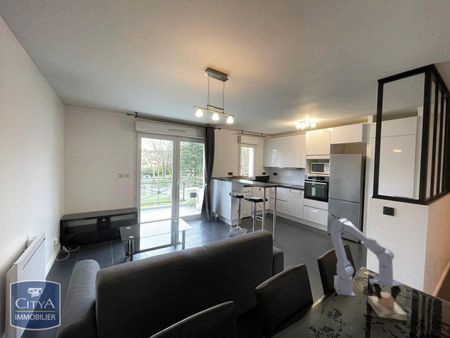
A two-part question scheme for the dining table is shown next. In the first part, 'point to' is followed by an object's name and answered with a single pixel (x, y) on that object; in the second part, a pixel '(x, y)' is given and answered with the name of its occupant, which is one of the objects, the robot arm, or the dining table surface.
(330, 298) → the dining table surface
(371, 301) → the birch base
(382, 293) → the terracotta cube
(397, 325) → the dining table surface
